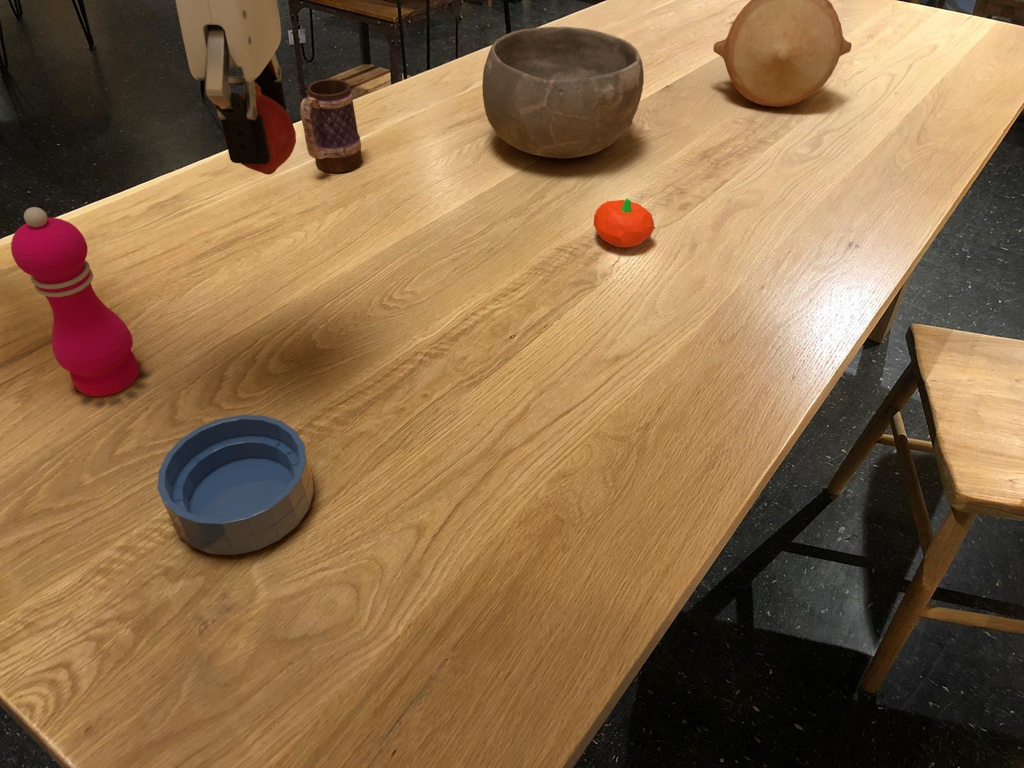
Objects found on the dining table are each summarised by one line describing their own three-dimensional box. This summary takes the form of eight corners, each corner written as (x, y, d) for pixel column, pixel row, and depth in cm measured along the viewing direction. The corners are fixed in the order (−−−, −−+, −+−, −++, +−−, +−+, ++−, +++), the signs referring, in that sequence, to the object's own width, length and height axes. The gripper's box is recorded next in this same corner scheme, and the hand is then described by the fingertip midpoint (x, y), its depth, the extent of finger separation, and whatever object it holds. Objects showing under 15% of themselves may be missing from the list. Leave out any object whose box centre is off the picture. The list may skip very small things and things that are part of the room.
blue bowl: (152, 555, 65) (134, 519, 61) (200, 448, 74) (186, 411, 70) (296, 562, 65) (286, 526, 61) (327, 453, 73) (319, 417, 70)
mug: (333, 148, 119) (321, 71, 111) (371, 158, 117) (363, 80, 109) (293, 176, 113) (278, 96, 104) (333, 187, 111) (322, 106, 102)
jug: (702, 39, 125) (701, 6, 149) (751, 139, 133) (743, 92, 157) (824, -34, 116) (802, -58, 140) (869, 77, 124) (841, 37, 148)
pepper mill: (70, 363, 82) (-13, 196, 68) (142, 347, 84) (76, 182, 70) (71, 408, 77) (-18, 237, 63) (147, 389, 79) (77, 221, 65)
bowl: (666, 158, 120) (683, 61, 110) (541, 199, 110) (547, 96, 99) (572, 103, 134) (579, 12, 124) (454, 135, 124) (451, 39, 114)
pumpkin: (607, 220, 106) (612, 177, 102) (658, 239, 103) (666, 196, 98) (580, 242, 102) (584, 199, 97) (633, 263, 98) (640, 219, 94)
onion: (254, 196, 65) (233, 105, 59) (221, 171, 68) (200, 81, 62) (313, 176, 68) (299, 86, 62) (280, 152, 71) (264, 64, 65)
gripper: (198, -125, 60) (245, 101, 72) (109, -70, 47) (184, 192, 60) (293, -121, 60) (324, 104, 72) (230, -65, 47) (281, 196, 60)
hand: (261, 142), depth 66 cm, fingers closed on onion, 5 cm apart
